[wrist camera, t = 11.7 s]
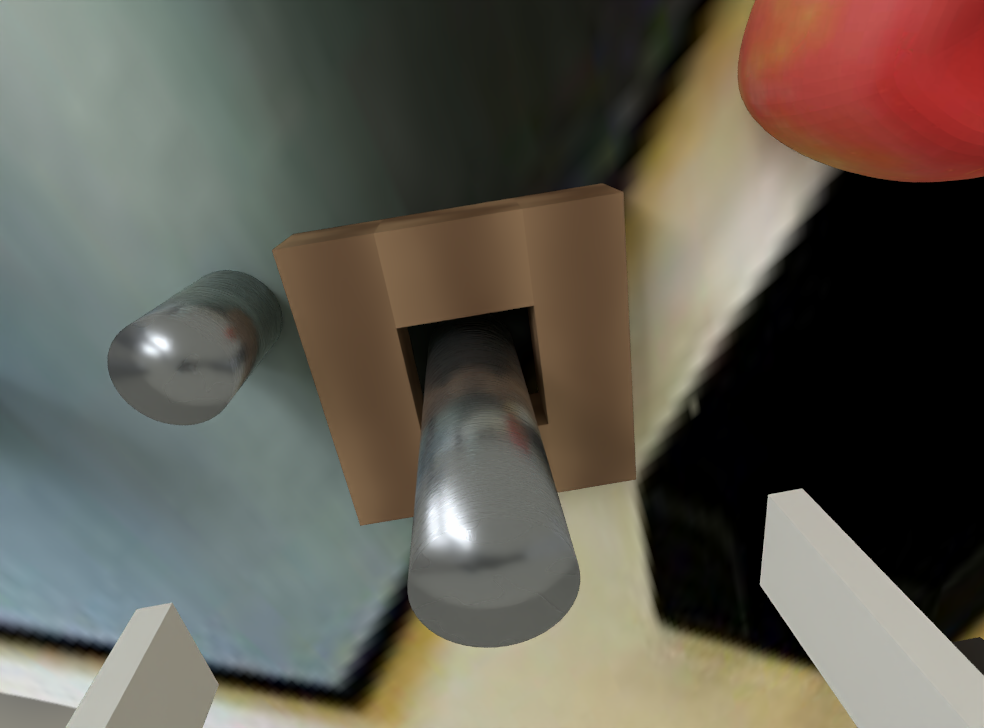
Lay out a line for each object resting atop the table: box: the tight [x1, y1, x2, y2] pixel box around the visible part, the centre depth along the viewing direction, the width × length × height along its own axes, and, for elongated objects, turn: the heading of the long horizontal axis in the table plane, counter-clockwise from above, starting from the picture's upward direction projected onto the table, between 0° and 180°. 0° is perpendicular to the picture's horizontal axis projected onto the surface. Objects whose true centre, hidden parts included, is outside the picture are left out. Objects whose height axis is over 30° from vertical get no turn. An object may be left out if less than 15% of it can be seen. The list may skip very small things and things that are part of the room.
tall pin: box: [408, 313, 580, 648], centre depth 19 cm, size 4×4×14 cm
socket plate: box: [272, 183, 636, 526], centre depth 24 cm, size 13×13×3 cm
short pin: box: [108, 270, 282, 425], centre depth 21 cm, size 4×4×6 cm
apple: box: [738, 0, 984, 182], centre depth 16 cm, size 10×10×10 cm
